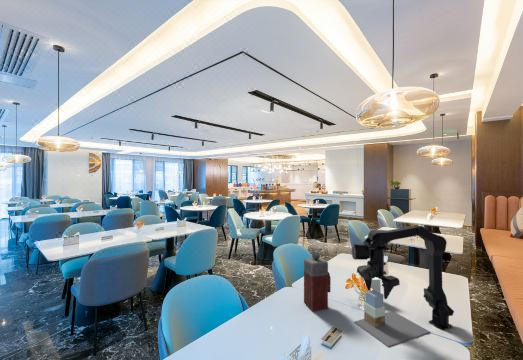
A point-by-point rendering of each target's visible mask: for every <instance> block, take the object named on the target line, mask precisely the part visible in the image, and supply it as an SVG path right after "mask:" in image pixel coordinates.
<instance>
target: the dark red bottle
mask: <svg viewBox="0 0 523 360" xmlns="http://www.w3.org/2000/svg"><path fill="white" fill-rule="evenodd" d="M311 256H312V257H305V258H303V304H304V303H305V304H306V305H305V304H304V305H305V306H306V307H307V308H308V309H309V310H310V311H311V312H317V311H323V310H328V309H329V293H331V288H332V287H331V283H332V281H331V279H332V278H331V274H330V272H329V262H328V261H327V260H325V259H323V258H321V256H320V251H319V250H318V249H317V250H315V249H314V250H312V252H311Z"/></svg>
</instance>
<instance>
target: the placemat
mask: <svg viewBox="0 0 523 360" xmlns="http://www.w3.org/2000/svg"><path fill="white" fill-rule="evenodd" d="M353 323H354V324H355V325H357V326H358V327H360V328H361V329H363V331H365V332H367V333H368V334H369V335H370V336H372V337H374V338H375V339H376V340H377V341H379V342H381V344H383V345H385V346H386V347H387V348H389V347H394V346H395V345H398V344H401V343H403V342H406V341H409V340H412V339H415V338H419V337H422V336H424V335H427V334H430V333H431V331H430V330H428V329H427V328H425V327H423V326H421V325H419V324H417V323H416V322H414V321H412V320H410V319H408V318H406V317H404V316H403V315H400V314H399V313H397V312H395V311H394V310H392V311H391V310H390V311H388V312H385V325H382V326H378V327H373V326H372V325H370V324H369V323H367V322H366V321H364V318H361V319H358V320H355V321H353Z"/></svg>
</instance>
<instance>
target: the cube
mask: <svg viewBox="0 0 523 360" xmlns="http://www.w3.org/2000/svg"><path fill="white" fill-rule="evenodd" d="M365 302H366V303H367V304H368V305H370V306H372V307H374V308H378V307H381V306H383V305H384V293H382V292H380V293H379V292H377V291H375V290H372V291H368V292H366V291H365Z"/></svg>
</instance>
